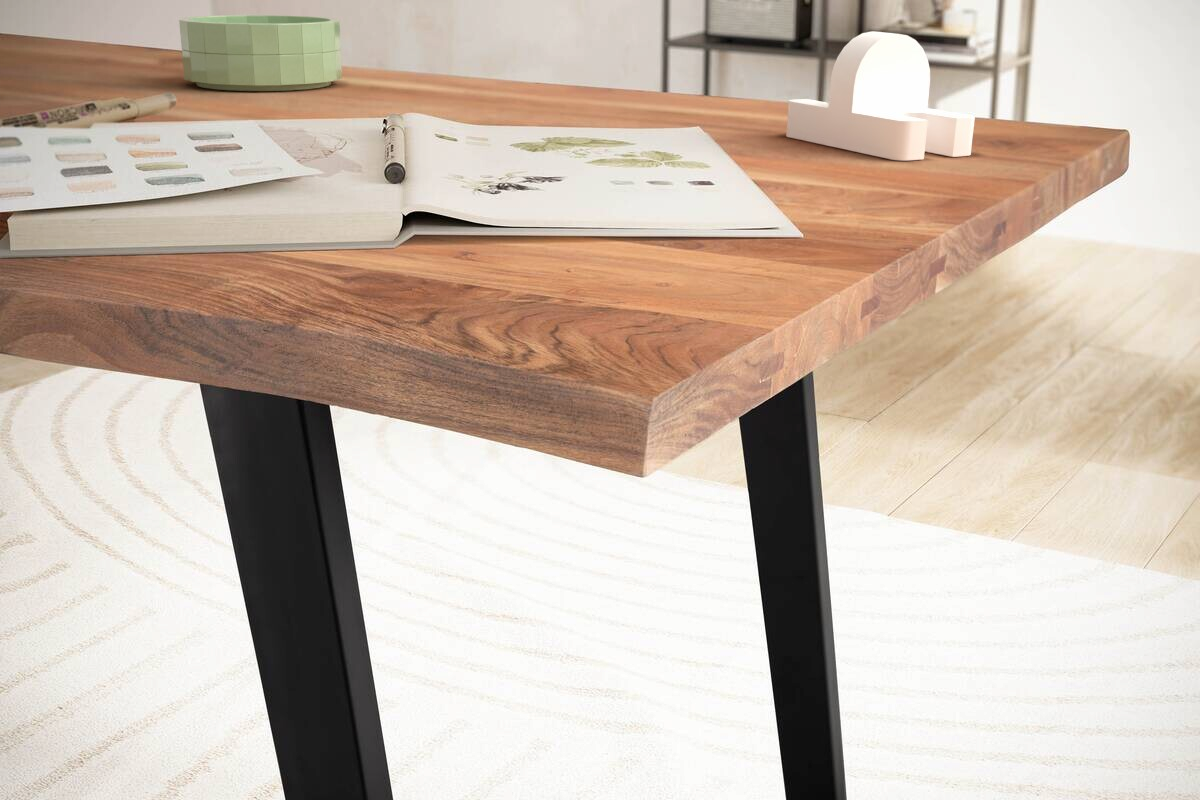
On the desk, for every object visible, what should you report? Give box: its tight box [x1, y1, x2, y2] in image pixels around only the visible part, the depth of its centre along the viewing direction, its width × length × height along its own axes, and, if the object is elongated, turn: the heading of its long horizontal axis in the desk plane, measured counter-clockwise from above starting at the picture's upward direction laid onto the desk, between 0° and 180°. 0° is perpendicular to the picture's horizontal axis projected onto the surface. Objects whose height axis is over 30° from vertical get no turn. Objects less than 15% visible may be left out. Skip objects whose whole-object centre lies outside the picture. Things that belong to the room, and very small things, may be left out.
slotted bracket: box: [785, 30, 976, 161], centre depth 91 cm, size 13×7×8 cm, turn 29°
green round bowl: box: [178, 14, 343, 92], centre depth 122 cm, size 15×15×6 cm
